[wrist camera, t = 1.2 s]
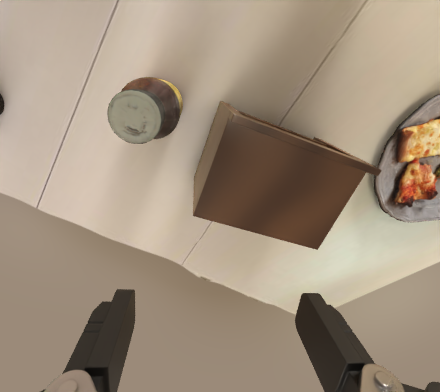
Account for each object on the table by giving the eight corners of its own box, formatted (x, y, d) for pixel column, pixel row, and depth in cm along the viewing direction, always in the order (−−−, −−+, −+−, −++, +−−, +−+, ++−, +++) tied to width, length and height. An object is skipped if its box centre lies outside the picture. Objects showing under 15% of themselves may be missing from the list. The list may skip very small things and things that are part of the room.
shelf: (194, 177, 42) (192, 224, 29) (220, 100, 38) (233, 113, 24) (287, 206, 46) (324, 259, 33) (322, 139, 42) (382, 170, 28)
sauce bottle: (162, 132, 39) (133, 179, 21) (131, 100, 37) (68, 121, 19) (193, 102, 37) (190, 125, 20) (162, 67, 35) (126, 56, 17)
